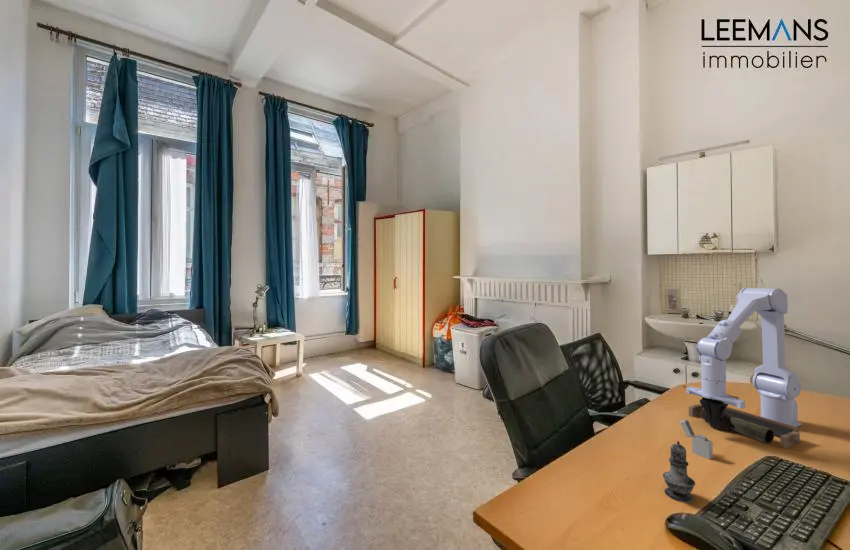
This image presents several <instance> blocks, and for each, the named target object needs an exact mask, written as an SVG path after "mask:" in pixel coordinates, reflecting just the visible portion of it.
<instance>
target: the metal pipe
mask: <svg viewBox="0 0 850 550" xmlns="http://www.w3.org/2000/svg"><path fill="white" fill-rule="evenodd" d="M699 416H700V418H701V419H702V420H704V421H705V422H706V423H708V424H709V427H711V428H713V429H715V430H717V431H721V432H723V431H724V432H726V431H734V432H736V433H739V434H742V435H745V436H747V437H749V438H752V439H755V440H758V441H760V442H762V443H765V444H771V443H773V441H774V438H775V435H773V434H774V431H773V430H771V429H769V428H766V427H763V426H760V425H757V424H754V423H751V422H748V421H745V420H742V419H739V418H734V417H731V416H729V415H727V414H726V413H724V412H723V413H722V415H721V418H720V421H719V425H716V426H714V425H711V424H710V423H709V420H708V417H707V414H706V412H705V410H704V408H702V409H701V413H700V415H699Z"/></svg>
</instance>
